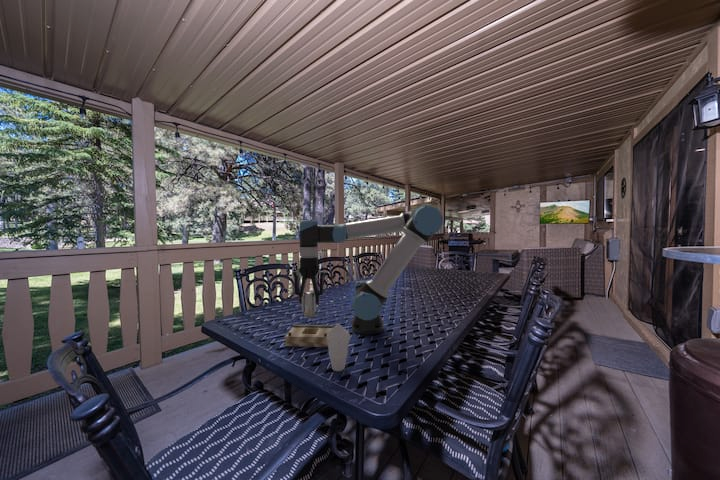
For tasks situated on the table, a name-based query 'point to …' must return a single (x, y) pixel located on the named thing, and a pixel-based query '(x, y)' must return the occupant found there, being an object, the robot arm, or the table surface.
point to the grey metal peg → (309, 304)
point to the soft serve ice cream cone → (338, 346)
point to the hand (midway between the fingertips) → (309, 310)
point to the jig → (308, 335)
